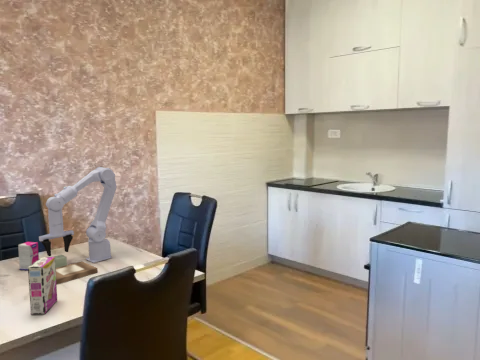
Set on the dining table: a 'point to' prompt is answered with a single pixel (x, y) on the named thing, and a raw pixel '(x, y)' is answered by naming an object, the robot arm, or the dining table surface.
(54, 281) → the candy bar box
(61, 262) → the sage cube
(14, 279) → the dining table surface
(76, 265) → the base board
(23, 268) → the supplement box
